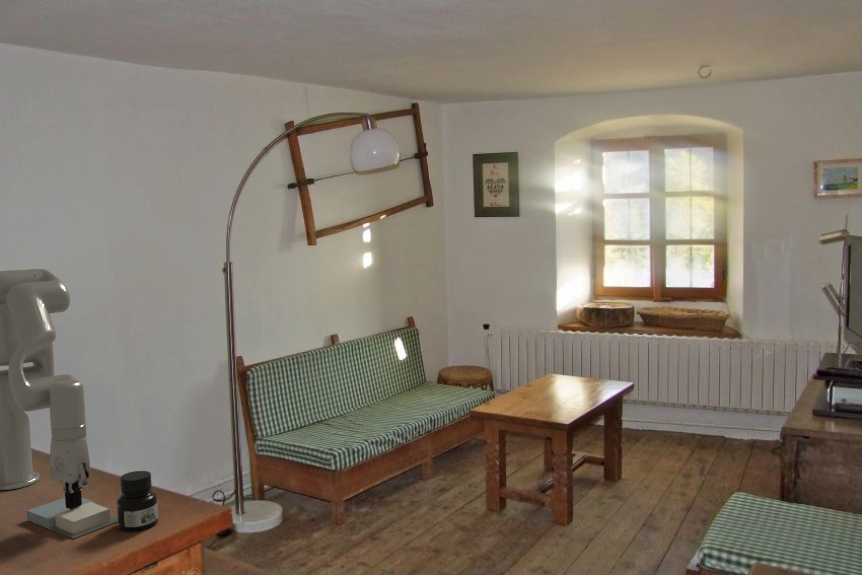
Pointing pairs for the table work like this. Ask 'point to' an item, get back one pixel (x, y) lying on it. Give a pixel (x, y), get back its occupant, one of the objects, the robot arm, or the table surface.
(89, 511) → the tile
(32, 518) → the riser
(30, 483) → the robot arm
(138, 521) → the ink bottle
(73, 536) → the mat
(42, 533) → the table surface
